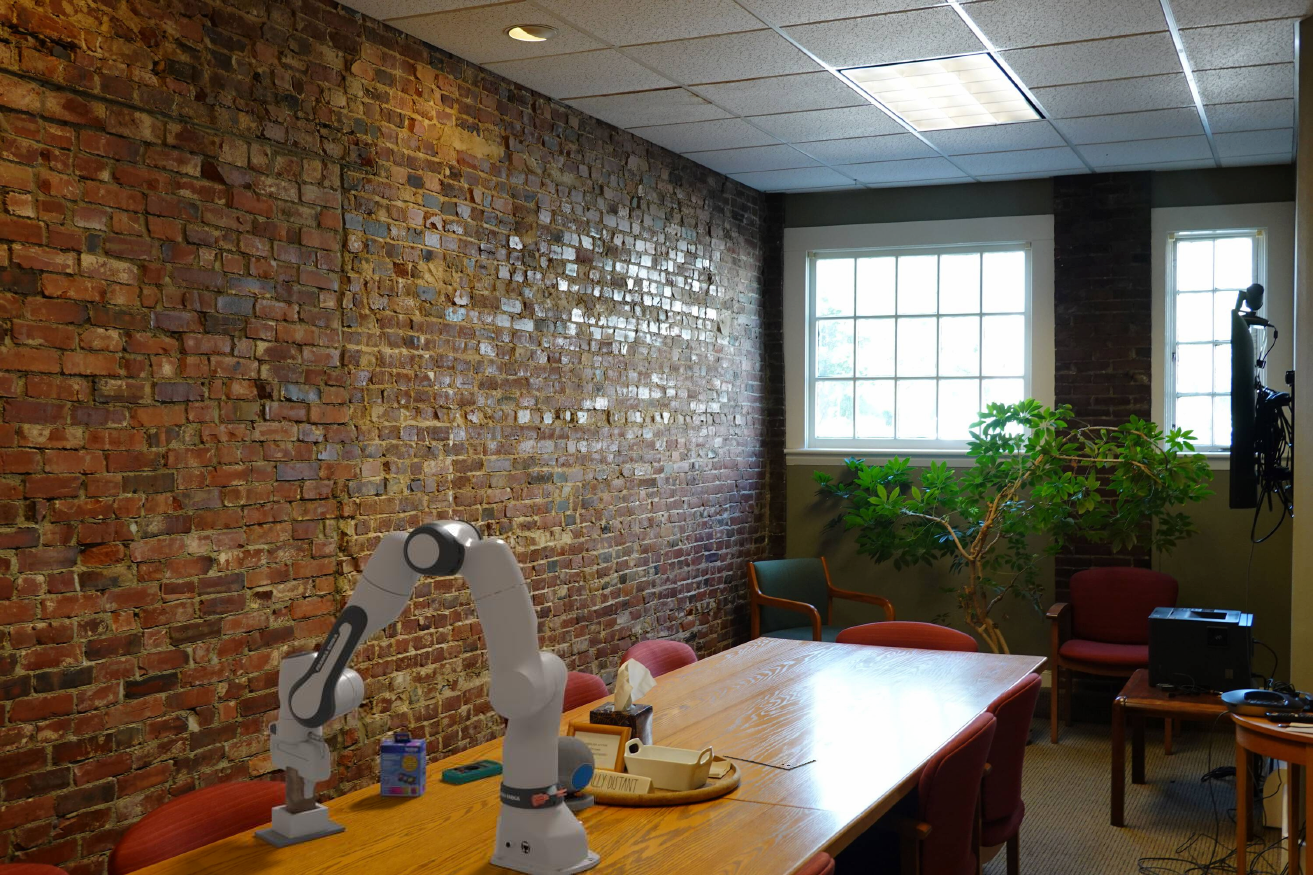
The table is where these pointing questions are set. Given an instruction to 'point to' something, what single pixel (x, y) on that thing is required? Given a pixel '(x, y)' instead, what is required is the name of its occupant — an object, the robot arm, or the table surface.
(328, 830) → the dock
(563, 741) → the webcam
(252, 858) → the table surface
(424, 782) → the ink cartridge box
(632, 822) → the table surface
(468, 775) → the digital multimeter
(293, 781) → the peg
